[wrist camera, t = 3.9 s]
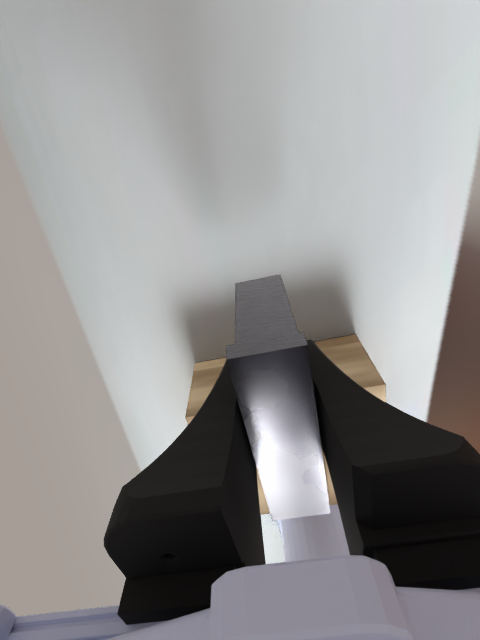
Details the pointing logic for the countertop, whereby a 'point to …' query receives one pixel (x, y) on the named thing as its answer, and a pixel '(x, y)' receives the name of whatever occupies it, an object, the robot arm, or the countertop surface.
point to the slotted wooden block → (338, 350)
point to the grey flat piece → (277, 400)
